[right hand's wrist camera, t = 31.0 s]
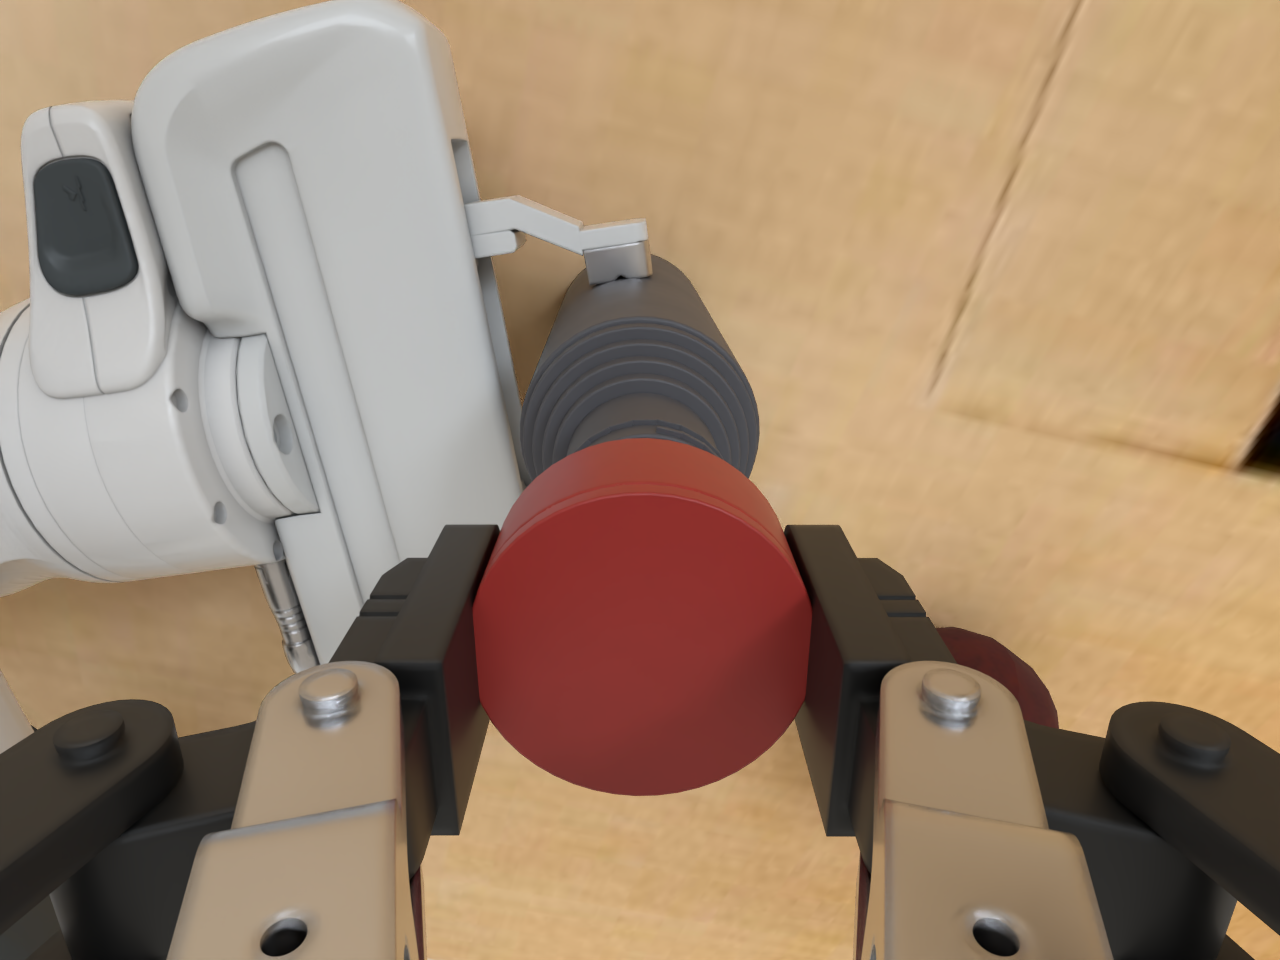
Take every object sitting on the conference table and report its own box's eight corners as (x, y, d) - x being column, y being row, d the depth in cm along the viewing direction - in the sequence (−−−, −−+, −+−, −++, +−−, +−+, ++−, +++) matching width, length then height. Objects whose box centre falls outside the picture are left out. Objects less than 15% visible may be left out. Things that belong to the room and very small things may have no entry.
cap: (848, 583, 12) (889, 664, 10) (634, 747, 13) (633, 850, 11) (650, 372, 11) (653, 416, 9) (432, 569, 12) (393, 647, 10)
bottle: (682, 410, 31) (749, 678, 15) (546, 377, 31) (465, 620, 15) (720, 271, 30) (844, 409, 13) (576, 234, 29) (523, 330, 13)
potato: (856, 764, 37) (904, 894, 31) (825, 618, 35) (870, 726, 28) (1022, 728, 37) (1107, 853, 30) (1003, 576, 34) (1092, 677, 27)
